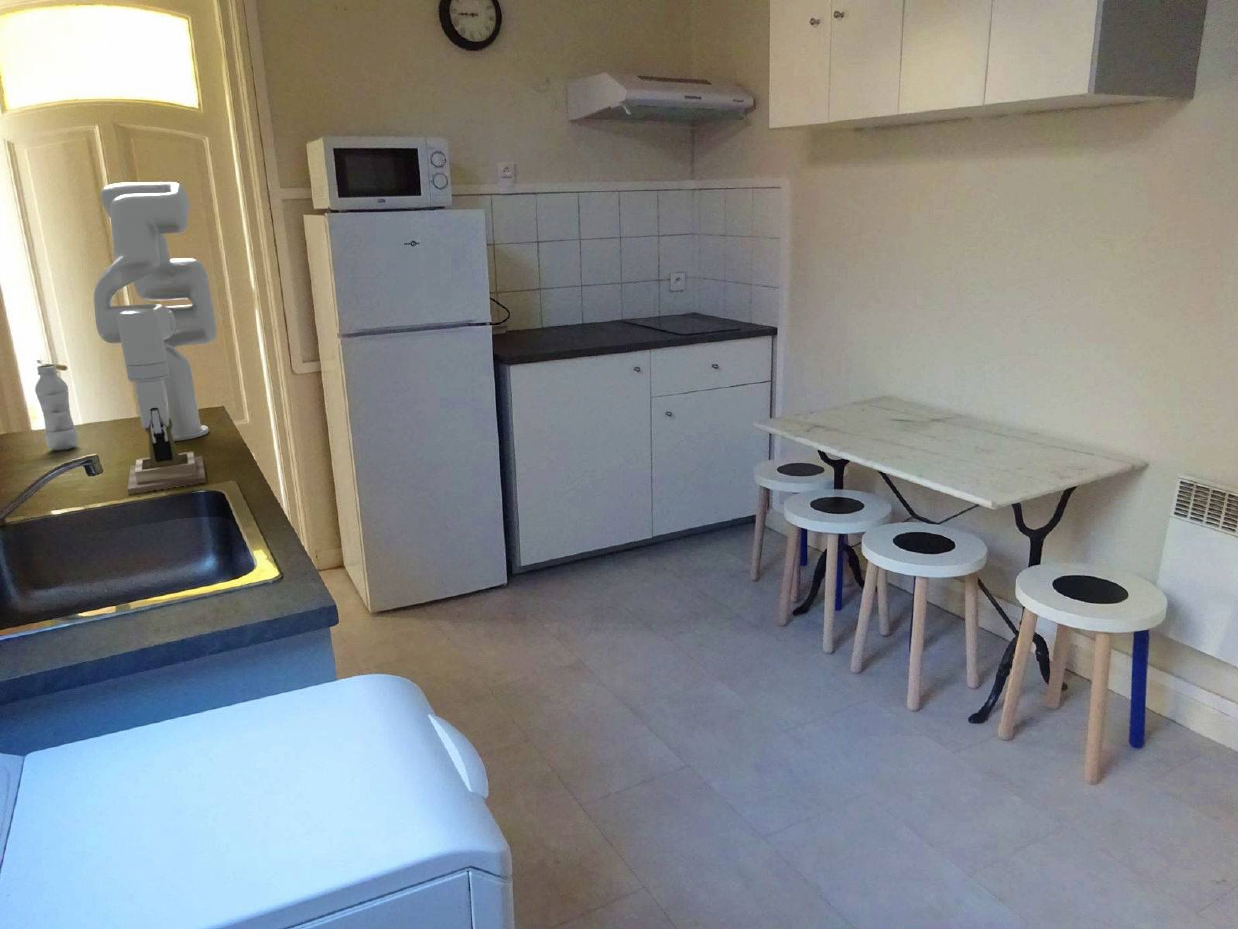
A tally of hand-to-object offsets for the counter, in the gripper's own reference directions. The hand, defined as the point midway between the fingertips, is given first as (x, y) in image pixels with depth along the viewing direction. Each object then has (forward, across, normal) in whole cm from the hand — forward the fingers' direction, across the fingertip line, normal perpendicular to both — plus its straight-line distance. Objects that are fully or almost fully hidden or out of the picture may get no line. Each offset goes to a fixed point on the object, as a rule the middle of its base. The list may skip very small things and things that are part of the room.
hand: (164, 456), depth 182 cm
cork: (+3, 0, 0) cm, 3 cm away
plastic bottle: (+5, -39, -22) cm, 45 cm away
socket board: (+4, 0, 0) cm, 4 cm away
